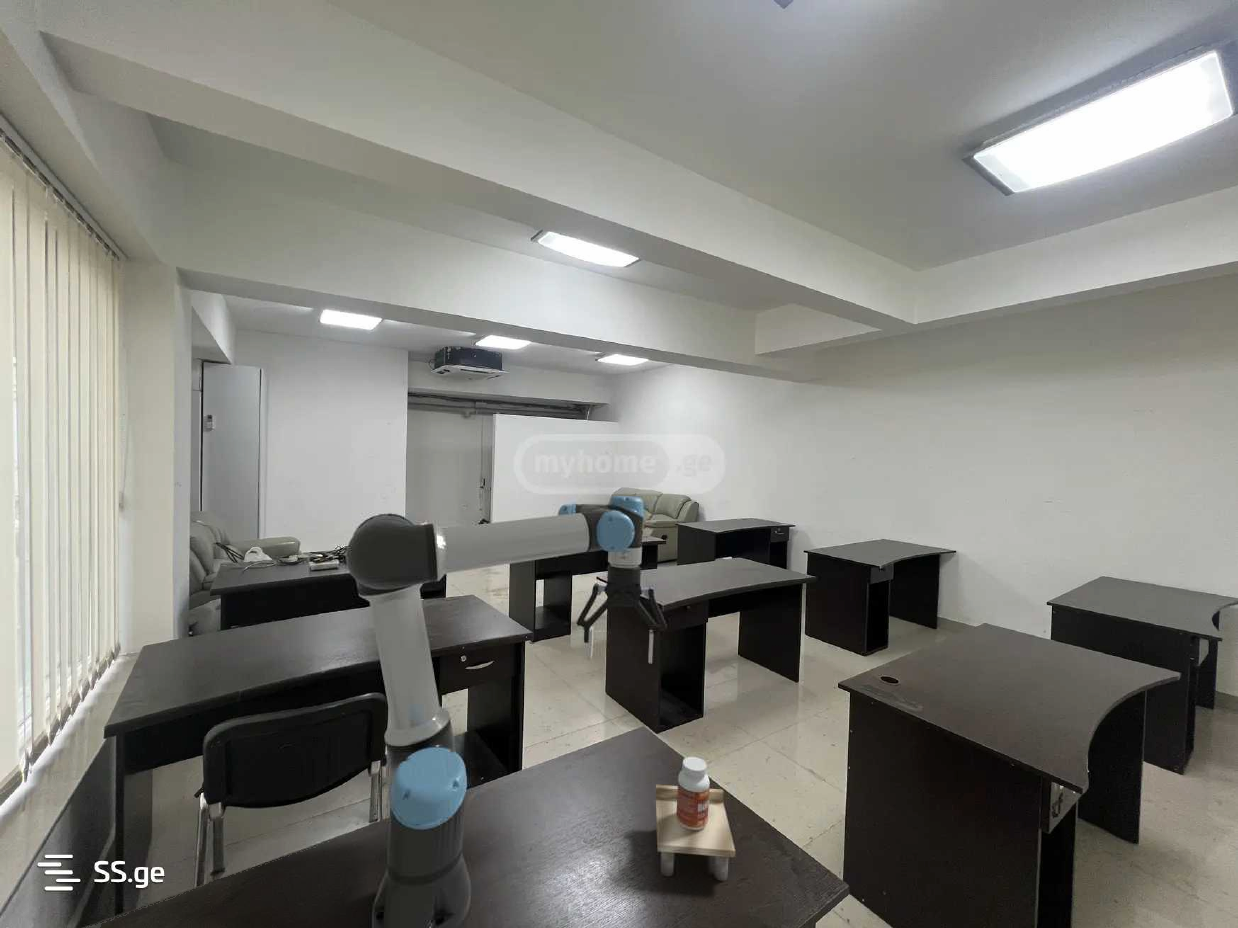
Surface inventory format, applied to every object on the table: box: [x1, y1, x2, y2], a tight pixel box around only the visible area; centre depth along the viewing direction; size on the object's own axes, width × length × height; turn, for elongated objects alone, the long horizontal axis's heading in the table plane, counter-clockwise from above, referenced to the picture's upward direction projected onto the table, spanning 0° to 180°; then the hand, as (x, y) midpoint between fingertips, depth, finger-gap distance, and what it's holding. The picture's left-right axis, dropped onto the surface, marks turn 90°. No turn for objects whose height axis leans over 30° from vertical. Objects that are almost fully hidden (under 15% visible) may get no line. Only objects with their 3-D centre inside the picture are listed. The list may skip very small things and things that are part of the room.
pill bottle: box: [676, 756, 711, 830], centre depth 96 cm, size 6×6×11 cm
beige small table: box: [655, 784, 736, 882], centre depth 96 cm, size 14×14×8 cm
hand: (620, 659), depth 110 cm, fingers open, 13 cm apart
